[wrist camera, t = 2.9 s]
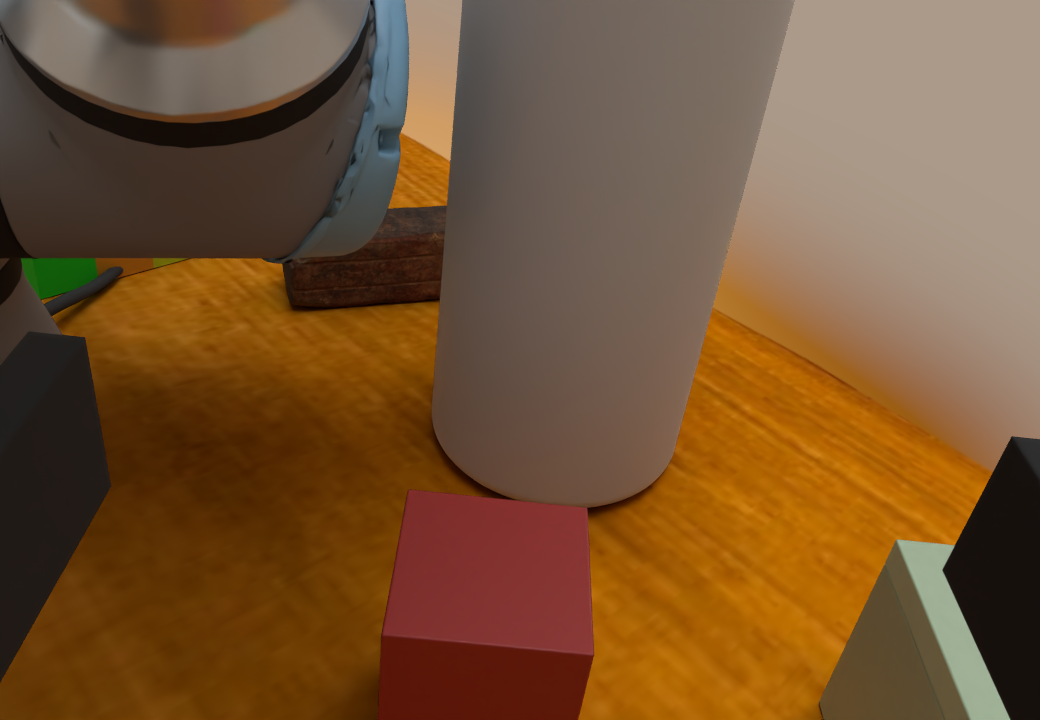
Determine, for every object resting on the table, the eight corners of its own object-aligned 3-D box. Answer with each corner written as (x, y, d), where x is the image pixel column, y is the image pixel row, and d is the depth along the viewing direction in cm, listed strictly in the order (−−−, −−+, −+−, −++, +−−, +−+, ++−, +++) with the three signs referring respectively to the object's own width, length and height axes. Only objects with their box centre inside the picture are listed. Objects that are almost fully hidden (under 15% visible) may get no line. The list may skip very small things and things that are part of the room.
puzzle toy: (132, 192, 65) (113, 46, 60) (204, 254, 60) (191, 99, 54) (-24, 227, 59) (-62, 68, 53) (40, 299, 54) (5, 130, 48)
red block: (397, 661, 37) (407, 488, 31) (552, 676, 37) (587, 506, 32) (373, 811, 32) (381, 635, 27) (552, 827, 32) (594, 655, 27)
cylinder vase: (379, 432, 47) (399, -120, 33) (525, 335, 56) (590, -135, 42) (587, 558, 42) (717, -37, 28) (713, 429, 51) (861, -74, 37)
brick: (448, 267, 62) (453, 201, 59) (465, 298, 59) (471, 231, 56) (281, 279, 58) (278, 210, 56) (290, 313, 55) (288, 242, 53)
